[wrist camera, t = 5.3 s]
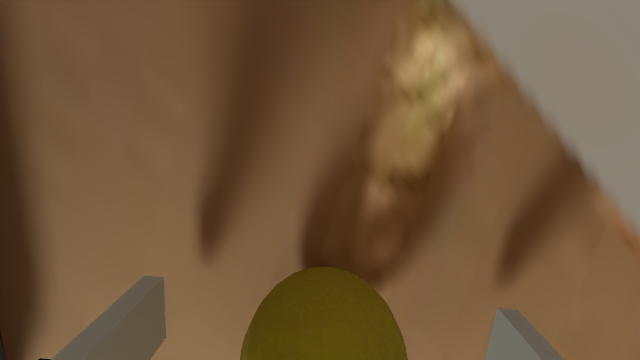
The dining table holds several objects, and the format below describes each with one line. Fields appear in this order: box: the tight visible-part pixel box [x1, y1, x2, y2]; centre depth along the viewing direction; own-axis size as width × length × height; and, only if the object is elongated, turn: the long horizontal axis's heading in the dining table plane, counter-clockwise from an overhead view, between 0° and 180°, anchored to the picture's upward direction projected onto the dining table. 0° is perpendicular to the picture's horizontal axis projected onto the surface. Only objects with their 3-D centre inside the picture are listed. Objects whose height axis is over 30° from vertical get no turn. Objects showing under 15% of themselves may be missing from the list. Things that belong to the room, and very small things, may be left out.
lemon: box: [240, 266, 408, 360], centre depth 10 cm, size 6×6×8 cm
